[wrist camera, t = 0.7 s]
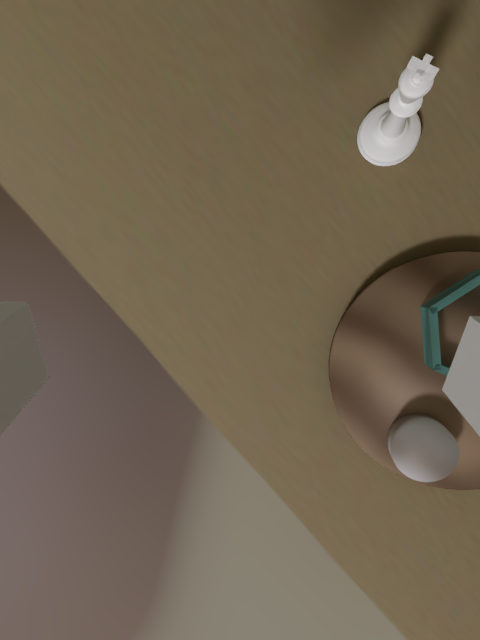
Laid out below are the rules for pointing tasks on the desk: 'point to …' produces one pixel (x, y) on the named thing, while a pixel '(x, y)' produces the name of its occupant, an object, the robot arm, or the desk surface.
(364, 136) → the chess piece
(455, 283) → the carrier
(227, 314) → the desk surface
